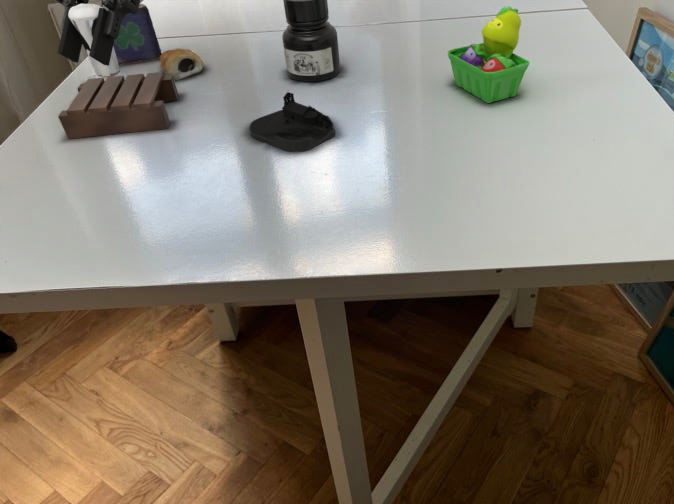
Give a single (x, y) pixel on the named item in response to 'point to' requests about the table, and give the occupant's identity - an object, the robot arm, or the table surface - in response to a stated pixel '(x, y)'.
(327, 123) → the black miniature model
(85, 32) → the milkshake
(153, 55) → the flask
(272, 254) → the table surface
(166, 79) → the rack
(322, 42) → the ink bottle
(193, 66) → the pastry
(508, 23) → the fruit basket
